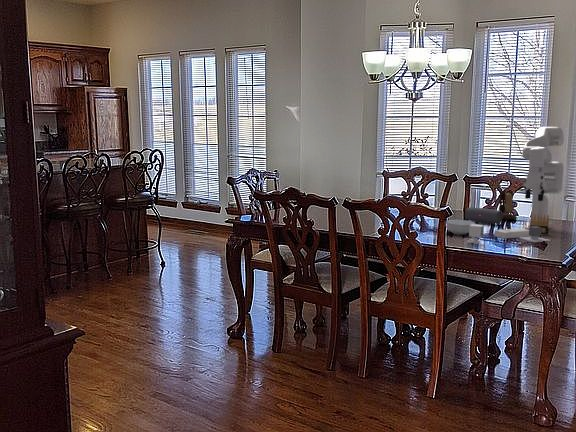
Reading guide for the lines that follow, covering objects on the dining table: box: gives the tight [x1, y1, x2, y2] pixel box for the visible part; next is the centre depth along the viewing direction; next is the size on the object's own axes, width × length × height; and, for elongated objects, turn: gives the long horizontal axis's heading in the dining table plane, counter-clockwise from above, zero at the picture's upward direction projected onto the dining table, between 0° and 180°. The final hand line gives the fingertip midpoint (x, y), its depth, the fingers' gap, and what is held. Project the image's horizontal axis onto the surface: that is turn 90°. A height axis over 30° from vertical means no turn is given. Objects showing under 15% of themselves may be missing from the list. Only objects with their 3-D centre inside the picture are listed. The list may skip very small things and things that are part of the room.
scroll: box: [498, 190, 518, 222], centre depth 408 cm, size 15×15×20 cm
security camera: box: [466, 223, 485, 245], centre depth 328 cm, size 6×7×10 cm
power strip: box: [494, 227, 531, 239], centre depth 349 cm, size 24×8×4 cm, turn 111°
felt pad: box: [518, 236, 552, 243], centre depth 338 cm, size 12×12×1 cm
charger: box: [528, 226, 542, 239], centre depth 338 cm, size 5×4×7 cm
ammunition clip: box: [529, 213, 550, 236], centre depth 356 cm, size 11×2×12 cm, turn 68°
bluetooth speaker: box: [464, 206, 504, 225], centre depth 393 cm, size 23×9×10 cm, turn 42°
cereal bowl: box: [445, 219, 476, 236], centre depth 356 cm, size 17×17×7 cm
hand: (533, 199), depth 341 cm, fingers open, 9 cm apart
